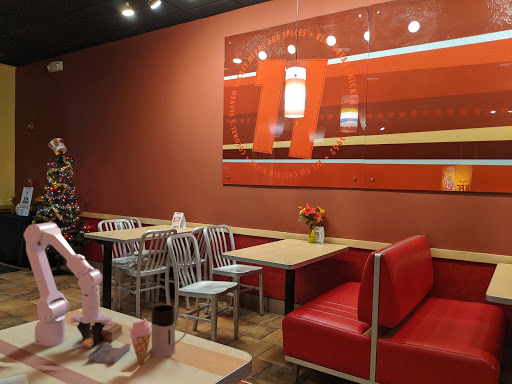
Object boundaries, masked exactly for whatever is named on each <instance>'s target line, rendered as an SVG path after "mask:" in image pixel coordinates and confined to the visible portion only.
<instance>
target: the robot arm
mask: <svg viewBox="0 0 512 384" xmlns="http://www.w3.org/2000/svg"><path fill="white" fill-rule="evenodd" d="M23 238H24V240H25V242H26V243H25V252H26V255H27V257H28V260H29V263H30V267H31V271H32V273H33V277H34V279H35V282H36V285H37V289H38V292H39V295H40V298H39V299H38V301H37V303H36V308H37V312H36V313H37V318H38V321H37V323H36V324H35V327H34V345H37V346H39V345H40V346H45V347H55V346H59V345H61V344H64V343H65V342H66V341H67V340H66V317H67V314H68V313H69V311H70V308H71V307H70V303H69V301H68V300H67V299H66V297H65V295H64V293H62V292H61V291H58V288H57V285H56V282H55V279H54V276H53V274H52V273H53V272H52V270H51V267H50V263H49V260H48V257H47V254H46V251H45V250H46V248H47V247H48V246H49V245H51V246H52V247H53V248H54V249H55V250H56V251H57V252H58V253H59V254H60V255H61V256H62V257H63V258H64V259H65V260H66V267H67V268H68V269H69V270H70V271H71V273H73V275H74V276H75V277H76V278H77V279H78V280H77V284H78V285H77V286H79V288H80V293H81V305H82V306H81V309H82V310H81V311H82V315H80V314H79V315H72V316H71V317H70V323H71V324H74V323H79V324H77V325H76V328H77V330H78V331H79V333H80V335H81V336H82V340H86V339H87V338H89V337H90V327H91V329H92V332H93V342H94V345H96V344H98V343H99V339H100V335H101V332H102V330H103V327H104V325H105V324H106V325H109V324H111V323H113V321H112V320H113V318H112V317H109V316H106V315H101V308H100V307H101V304H100V303H101V299H100V296H101V295H100V284H101V283H102V282H103V279H104V276H103V273H102V272H101V271H100V270H99V269H97V268H94V267H93V266H92V265H91V264H89V262H88V261H87V260H86V257H85V256H84V255H82V254H80V253H79V254H78V253H75V251H74V250H73V248H72V247H71V246H70V245H69V243H68V242H67V240H66V239H65V237H64V236H63V235H62V229H61V228H59V226H58V225H57V224H56V223H55V222H53V221H48V222H43V223H37V224H35V223H32V224H30V225H28V226H27V228H25V231H24V232H23ZM93 323H95V325H93V326H91V325H92V324H93Z"/></svg>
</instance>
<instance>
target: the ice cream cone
mask: <svg viewBox="0 0 512 384" xmlns="http://www.w3.org/2000/svg"><path fill="white" fill-rule="evenodd" d="M150 327H151V324H150V323H149V321H148V320H147V319H146V318H143V320H140V321H139V320H137V321H133V322H132V328H129V329H128V330H129V332H130V334H129V335H130V336H129V337H130V339H131V342H132V346H133V349H134V353H135V356H136V360H137V362H138V363H139V366H143V365H145V361H146V356H147V354H148V348H149V346H150V345H149V344H150V339H151V335H152V331H151V328H150Z"/></svg>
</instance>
